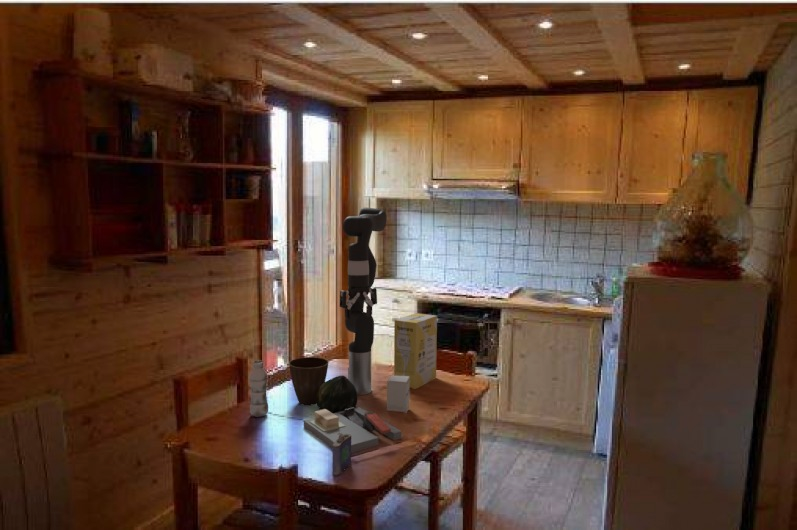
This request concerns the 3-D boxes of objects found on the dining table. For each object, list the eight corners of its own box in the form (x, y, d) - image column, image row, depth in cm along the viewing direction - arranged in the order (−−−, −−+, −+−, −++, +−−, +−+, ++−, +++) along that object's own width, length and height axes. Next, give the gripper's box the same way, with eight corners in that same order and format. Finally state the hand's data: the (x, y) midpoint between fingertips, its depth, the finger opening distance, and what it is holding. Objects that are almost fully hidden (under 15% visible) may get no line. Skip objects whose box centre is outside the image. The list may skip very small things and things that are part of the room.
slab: (314, 420, 190) (314, 411, 189) (325, 417, 192) (325, 408, 192) (327, 428, 182) (327, 419, 182) (338, 425, 185) (338, 417, 184)
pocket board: (303, 431, 190) (303, 419, 190) (359, 417, 203) (359, 406, 203) (342, 459, 169) (342, 446, 169) (401, 442, 182) (401, 430, 182)
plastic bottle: (272, 413, 206) (271, 360, 204) (260, 420, 200) (259, 365, 198) (258, 411, 209) (257, 358, 206) (246, 417, 203) (244, 363, 200)
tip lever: (341, 415, 196) (344, 395, 193) (355, 412, 199) (358, 392, 196) (375, 453, 179) (379, 432, 176) (390, 449, 182) (393, 428, 179)
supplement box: (406, 415, 205) (406, 382, 204) (386, 414, 206) (386, 380, 205) (409, 408, 212) (410, 376, 211) (390, 407, 214) (390, 374, 212)
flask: (338, 477, 159) (338, 440, 158) (329, 475, 160) (329, 438, 159) (353, 463, 167) (352, 428, 166) (344, 461, 168) (344, 427, 167)
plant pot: (324, 394, 227) (324, 355, 226) (332, 407, 213) (331, 365, 211) (287, 398, 223) (286, 358, 221) (292, 411, 209) (291, 369, 207)
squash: (310, 392, 214) (318, 370, 203) (348, 388, 220) (357, 367, 209) (317, 426, 205) (325, 405, 195) (356, 422, 211) (366, 401, 201)
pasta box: (415, 373, 256) (416, 313, 253) (436, 377, 250) (437, 315, 247) (394, 384, 240) (394, 320, 237) (415, 389, 235) (416, 322, 232)
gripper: (346, 275, 192) (346, 322, 194) (381, 272, 201) (381, 317, 202) (335, 273, 198) (336, 318, 200) (369, 270, 207) (369, 314, 209)
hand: (358, 317), depth 201 cm, fingers open, 8 cm apart
